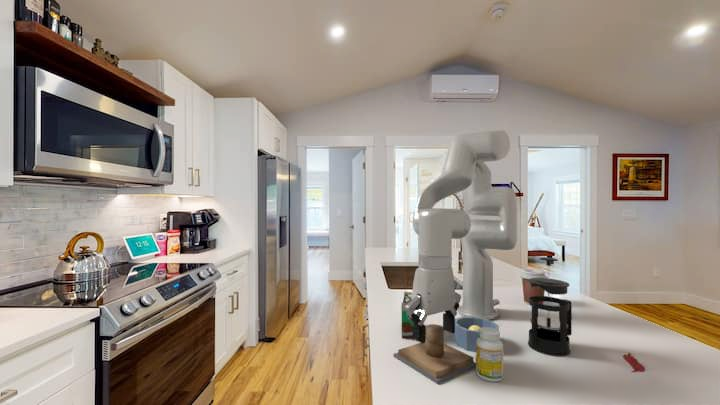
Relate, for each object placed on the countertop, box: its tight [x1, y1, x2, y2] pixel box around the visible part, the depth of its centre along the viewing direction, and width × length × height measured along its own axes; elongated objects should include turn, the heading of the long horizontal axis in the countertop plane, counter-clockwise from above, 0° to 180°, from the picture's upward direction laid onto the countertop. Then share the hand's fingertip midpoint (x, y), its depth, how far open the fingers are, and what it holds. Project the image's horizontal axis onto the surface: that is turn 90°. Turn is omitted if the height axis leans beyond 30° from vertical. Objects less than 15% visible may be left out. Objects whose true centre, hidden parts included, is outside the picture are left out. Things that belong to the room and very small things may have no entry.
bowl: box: [452, 316, 500, 353], centre depth 83 cm, size 11×11×5 cm
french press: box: [527, 256, 573, 357], centre depth 81 cm, size 12×9×23 cm
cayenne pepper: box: [622, 352, 646, 373], centre depth 73 cm, size 12×5×2 cm, turn 131°
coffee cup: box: [519, 268, 548, 306], centre depth 118 cm, size 9×9×12 cm
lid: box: [397, 323, 474, 378], centre depth 73 cm, size 12×12×7 cm
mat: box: [393, 352, 476, 385], centre depth 73 cm, size 13×14×1 cm
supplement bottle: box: [475, 327, 504, 383], centre depth 67 cm, size 5×5×10 cm
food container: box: [401, 291, 422, 340], centre depth 90 cm, size 12×6×10 cm, turn 168°
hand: (434, 336), depth 73 cm, fingers open, 9 cm apart
